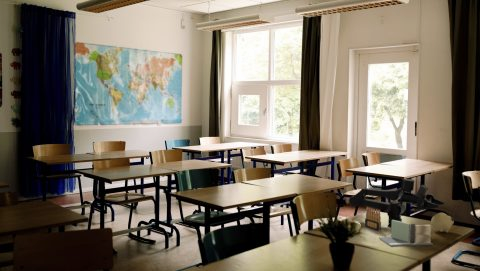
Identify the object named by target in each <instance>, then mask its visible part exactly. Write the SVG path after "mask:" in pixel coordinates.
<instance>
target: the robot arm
mask: <svg viewBox="0 0 480 271" xmlns="http://www.w3.org/2000/svg"><path fill="white" fill-rule="evenodd" d="M414 187H415V179H413V178H412V179H411V178H402V179H401V186H400V188H398V189H397V188H395V189H394V188H393V189H375V188H367V187H363V188H361V189H360V190H359V192H357V193H356V194H354V195H353V196H350V197H349V199H348V202H349V204H350V206H352V207H362V206H363V207H364V206H365V207H367V206H368V208H369V207H370V208H373V209H374V208H375V209H377V210H384V211H387V217H388V220H387V221H388V224H387V227H388V228H391V227H392V220H396V221H400V222H403V219H402V214H404V212H405V211H406V205H405V203H407V204H411V205H413V206H415V205H416V209H417V210H419V211H425V210H430V209H437V208H439V206H441V205H444V204H445V202H443V201H442V200H439V199H438V198H436V197H435V195H434V194H433V193H428V194H426V193H427V191H428V189H429V187H427V185H424V184H422V185H420V187H419V188H418V189H417V192H416V193H413V191H414V189H415V188H414ZM367 196H370V197H371V196H372V197H378V198H385V199H387V200H390V201H389V202H384V201H380V200H379V201H378V200H375V199H374V200H373V199H369V198H366V197H367ZM397 200H399V201H397Z"/></svg>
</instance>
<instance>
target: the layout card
mask: <svg viewBox="0 0 480 271" xmlns="http://www.w3.org/2000/svg"><path fill="white" fill-rule="evenodd" d="M378 239H379V240H381V241H382V242H383V243H385V244H386V245H388V246H389V247H406V246H407V247H408V246H412V247H413V246H429V245H431V246H432V245H434V243H432V242H431V241H430V243H415V244H411V243H410V241H409V242H407V241H404V240H400V239H396V238H392V237H391V236H383V237H378Z"/></svg>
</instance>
